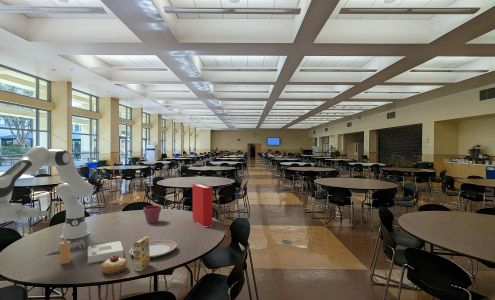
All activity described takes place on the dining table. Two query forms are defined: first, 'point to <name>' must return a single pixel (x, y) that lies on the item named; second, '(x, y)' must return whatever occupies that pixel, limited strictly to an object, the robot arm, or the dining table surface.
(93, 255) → the housing
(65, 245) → the block
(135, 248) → the candy box
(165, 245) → the dinner plate
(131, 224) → the dining table surface
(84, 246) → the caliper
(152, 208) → the plant pot
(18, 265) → the dining table surface
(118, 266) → the pastry
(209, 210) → the book
